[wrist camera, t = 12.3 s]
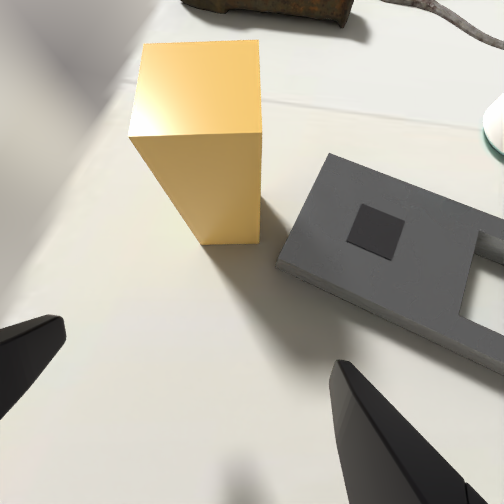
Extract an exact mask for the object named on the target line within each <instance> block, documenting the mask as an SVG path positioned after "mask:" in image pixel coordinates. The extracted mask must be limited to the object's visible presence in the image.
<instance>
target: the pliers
mask: <svg viewBox="0 0 504 504" xmlns="http://www.w3.org/2000/svg"><path fill="white" fill-rule="evenodd" d="M381 1H384V2H389V3H396V4H403V5H409V6H415V7H418V8H421V9H424V10H428V11H430V12H433V13H435V14H437V15H439V16H441V17H442V18H444V19H446V20H447V21H449V22H450V23H452V24H453V25H455V26H456V27H458V28H459V29H461V30H462V31H464V32H465V33H467V34H469V35H470V36H472V37H474V38H475V39H477V40H479V41H482V42H484V43H486V44H488V45H491V46H494V47H497V48H500V49H503V50H504V41H501V40H499V39H496V38H493V37H491V36H489V35H487V34H485V33H483V32H482V31H480V30H478V29H477V28H475V27H474V26H472V25H471V24H470V23H468V22H467V21H465V20H464V19H463V18H461V17H460V16H458V15H457V14H456V13H454V12H453V11H451V10H450V9H448V8H446V7H444V6H443V5H441V4H439V3H438V2H437V1H435V0H381Z"/></svg>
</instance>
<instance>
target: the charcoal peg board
mask: <svg viewBox="0 0 504 504" xmlns="http://www.w3.org/2000/svg"><path fill="white" fill-rule="evenodd" d="M473 253H475V254H477V255H480V256H482V257H485V258H487V259H490V260H492V261H494V262H497V263H499V264H502V265H504V220H503V219H501V218H498V217H496V216H493V215H490V214H488V213H485V212H483V211H480V210H477V209H475V208H472V207H469V206H467V205H464V204H462V203H459V202H456V201H454V200H451V199H448V198H446V197H443V196H441V195H438V194H435V193H433V192H430V191H427V190H425V189H422V188H420V187H417V186H414V185H412V184H409V183H407V182H404V181H401V180H399V179H396V178H393V177H391V176H388V175H386V174H383V173H380V172H378V171H375V170H372V169H370V168H367V167H365V166H362V165H359V164H357V163H354V162H352V161H349V160H346V159H344V158H341V157H338V156H336V155H333V154H331V153H329V154H328V156H327V158H326V160H325V162H324V164H323V166H322V168H321V170H320V173H319V175H318V177H317V179H316V181H315V183H314V185H313V187H312V189H311V191H310V193H309V195H308V197H307V199H306V201H305V203H304V205H303V207H302V209H301V211H300V214H299V216H298V218H297V220H296V222H295V224H294V226H293V228H292V230H291V232H290V234H289V236H288V238H287V240H286V242H285V244H284V246H283V248H282V250H281V252H280V255H279V257H278V259H277V263H276V266H275V267H276V268H278V269H280V270H282V271H285V272H287V273H289V274H291V275H293V276H295V277H297V278H299V279H301V280H303V281H306V282H308V283H310V284H312V285H314V286H316V287H318V288H320V289H322V290H324V291H327V292H329V293H331V294H333V295H335V296H337V297H339V298H341V299H343V300H346V301H348V302H350V303H352V304H354V305H356V306H358V307H360V308H362V309H364V310H367V311H369V312H371V313H373V314H375V315H377V316H379V317H381V318H383V319H386V320H388V321H390V322H392V323H394V324H396V325H398V326H400V327H402V328H404V329H407V330H409V331H411V332H413V333H415V334H417V335H419V336H421V337H423V338H426V339H428V340H430V341H432V342H434V343H436V344H438V345H440V346H442V347H444V348H447V349H449V350H451V351H453V352H455V353H457V354H459V355H461V356H463V357H466V358H468V359H470V360H472V361H474V362H476V363H478V364H480V365H482V366H484V367H487V368H489V369H491V370H493V371H495V372H497V373H499V374H501V375H503V376H504V335H501V334H499V333H497V332H495V331H492V330H490V329H488V328H486V327H484V326H481V325H479V324H477V323H475V322H472V321H470V320H468V319H466V318H464V317H461V316H459V311H460V306H461V302H462V298H463V294H464V290H465V286H466V282H467V278H468V274H469V270H470V266H471V261H472V257H473Z"/></svg>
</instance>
